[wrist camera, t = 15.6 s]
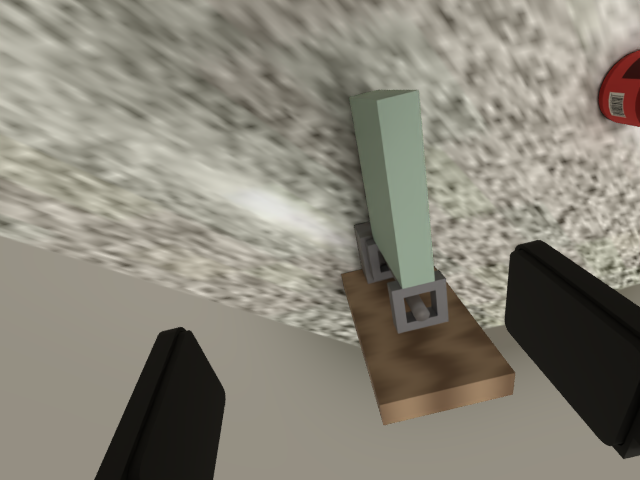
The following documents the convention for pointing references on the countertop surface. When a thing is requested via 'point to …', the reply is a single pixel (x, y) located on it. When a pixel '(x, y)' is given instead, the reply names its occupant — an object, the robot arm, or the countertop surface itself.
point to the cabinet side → (421, 349)
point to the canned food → (622, 91)
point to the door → (398, 201)
